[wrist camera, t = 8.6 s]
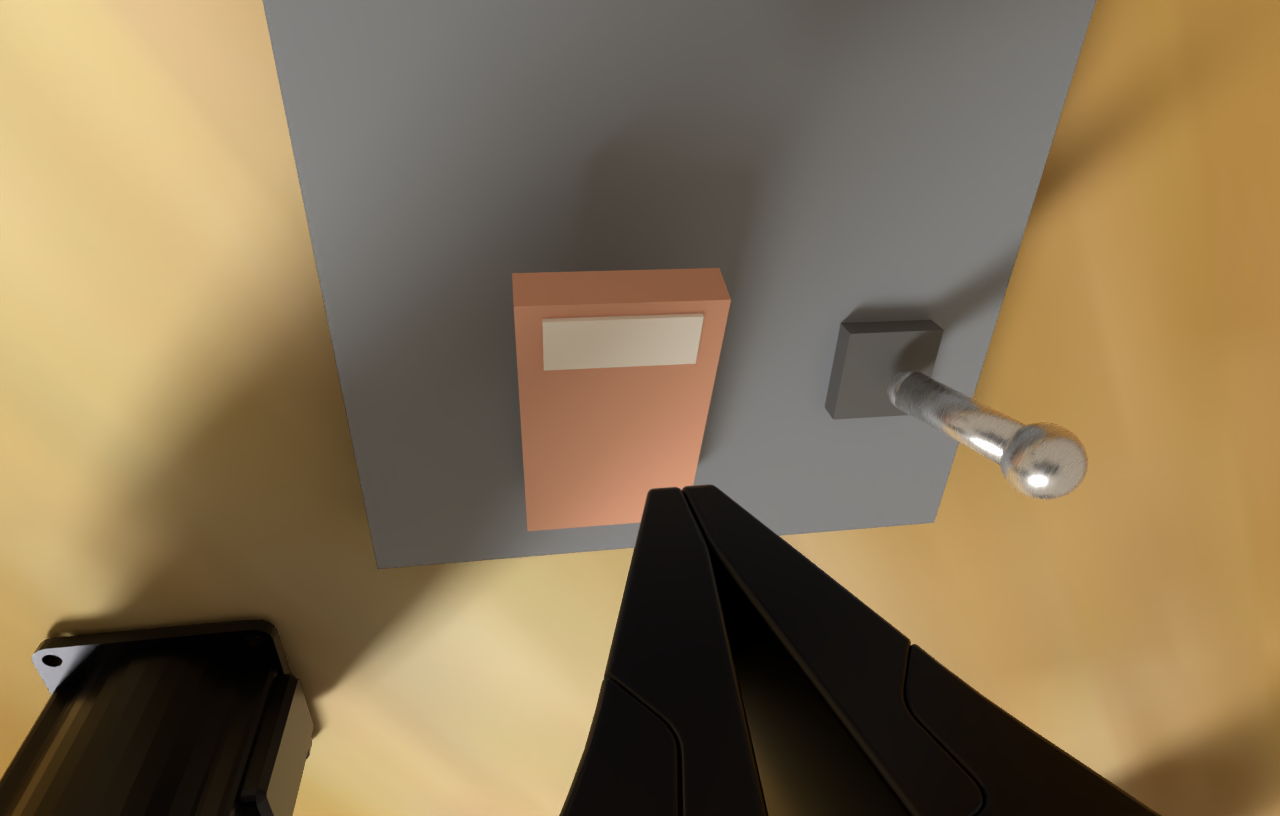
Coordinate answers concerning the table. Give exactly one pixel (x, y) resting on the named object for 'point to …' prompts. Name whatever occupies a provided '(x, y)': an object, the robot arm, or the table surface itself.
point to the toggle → (996, 436)
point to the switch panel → (666, 228)
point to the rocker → (613, 387)
